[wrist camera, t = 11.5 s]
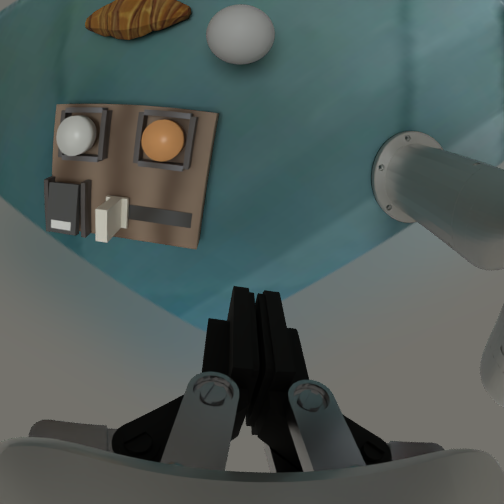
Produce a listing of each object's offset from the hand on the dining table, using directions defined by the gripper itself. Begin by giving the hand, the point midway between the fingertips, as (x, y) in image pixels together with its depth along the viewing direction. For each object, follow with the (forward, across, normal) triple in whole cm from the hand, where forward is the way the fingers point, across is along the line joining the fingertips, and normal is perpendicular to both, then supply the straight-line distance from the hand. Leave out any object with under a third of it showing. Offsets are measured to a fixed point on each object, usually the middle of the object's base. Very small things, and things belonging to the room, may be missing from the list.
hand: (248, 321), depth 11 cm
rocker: (+23, +21, +6) cm, 31 cm away
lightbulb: (+27, +3, -15) cm, 31 cm away
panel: (+27, +14, +1) cm, 31 cm away
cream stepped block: (+24, +14, +6) cm, 28 cm away
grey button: (+22, +19, -4) cm, 30 cm away
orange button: (+24, +9, -4) cm, 26 cm away
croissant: (+28, +16, -18) cm, 37 cm away
